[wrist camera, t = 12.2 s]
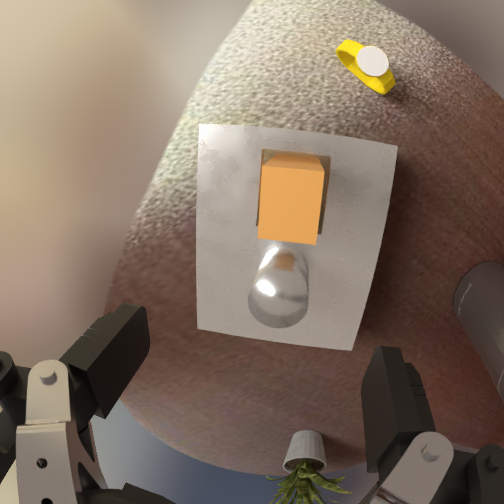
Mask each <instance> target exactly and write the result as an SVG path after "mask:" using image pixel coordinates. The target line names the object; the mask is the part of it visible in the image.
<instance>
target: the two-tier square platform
mask: <svg viewBox="0 0 504 504" xmlns="http://www.w3.org/2000/svg"><path fill="white" fill-rule="evenodd" d="M397 149H398V146H395V145H390V144H385V143H380V142H374V141H369V140H363V139H358V138H352V137H345V136H339V135H332V134H325V133H317V132H309V131H301V130H291V129H281V128H270V127H257V126H242V125H220V124H199V144H198V171H197V214H196V279H197V323H198V329H203V330H208V331H214V332H219V333H225V334H230V335H236V336H242V337H248V338H255V339H261V340H268V341H274V342H282V343H289V344H296V345H304V346H313V347H321V348H330V349H340V350H351V351H352V348H353V345H354V341H355V338H356V335H357V332H358V329H359V325H360V322H361V319H362V315H363V312H364V309H365V305H366V302H367V298H368V294H369V291H370V287H371V283H372V279H373V275H374V271H375V267H376V263H377V259H378V255H379V250H380V246H381V242H382V237H383V232H384V227H385V223H386V217H387V212H388V207H389V202H390V196H391V190H392V184H393V178H394V171H395V164H396V157H397ZM276 154H284V155H295V156H305V157H314V158H319V160H320V163H321V165H322V167H323V170H324V181H323V190H322V199H321V208H320V216H319V224H318V232H317V240H316V245H312V244H303V243H294V242H286V241H277V240H268V239H259V238H258V224H259V208H260V192H261V176H262V165H264V164H265V163H266V162H267V161H268V160H270V159H271V158H272V157H273V156H275V155H276Z"/></svg>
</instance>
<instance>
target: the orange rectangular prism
mask: <svg viewBox="0 0 504 504" xmlns="http://www.w3.org/2000/svg"><path fill="white" fill-rule="evenodd" d="M323 181H324V170H323V167H322V165H321V163H320V160H319V158H314V157H305V156H295V155H284V154H276V155H275V156H273V157H272V158H271V159H270V160H268V161H267V162H266V163H265V164H264V165H262V176H261V192H260V208H259V224H258V238H259V239H268V240H277V241H286V242H294V243H303V244H312V245H316V240H317V232H318V224H319V216H320V208H321V199H322V190H323Z"/></svg>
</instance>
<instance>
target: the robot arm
mask: <svg viewBox="0 0 504 504" xmlns="http://www.w3.org/2000/svg"><path fill="white" fill-rule="evenodd" d="M453 307H454V312H455V315H456V317H457V318H458V320H459V321H460V323H461V325H462V326H463V328H464V330H465V331H466V333H467V335H468V337H469V338H470V340H471V342H472V343H473V345H474V347H475V349H476V350H477V352H478V354H479V356H480V357H481V359H482V361H483V363H484V365H485V367H486V369H487V370H488V372H489V374H490V376H491V378H492V380H493V382H494V384H495V386H496V388H497V390H498V392H499V394H500V396H501V398H502V400H503V402H504V266H503V265H501V264H500V263H498V262H494V261H488V262H484V263H481V264H479V265H477V266H475V267H474V268H472V269H471V270H470V271H469V272H468V273H467V274H466V275H465V276H464V277H463V279H462V280H461V282H460V283H459V285H458V288H457V290H456V292H455V296H454V302H453ZM149 348H150V336H149V329H148V321H147V313H146V309H145V308H144V307H142V306H138V305H134V304H130V303H126V302H125V303H123V304H122V305H121V306H120V307H119V308H118V309H117V310H116V311H115V312H114V313H108V314H106V315H104V316H102V317H101V318H99V319H97V320H96V321H95V322H94V323H93V324H92V325H91V327H90V329H88V330H87V331H86V332H85V333H84V334H83V336H81V337H80V338H79V339H78V340H77V341H76V342H75V343H74V344H73V345H72V346H71V347H70V348H69V350H68V351H67V352H66V353H65V354H64V355H63V356H62V357H61V358H60V359H59V360H58V361H57V360H45V361H42V362H40V363H38V364H36V365H35V366H34V367H33V368H26V367H20V366H15V364H14V362H13V359H12V357H11V356H10V355H9V354H8V353H6V352H2V351H1V352H0V406H1V407H2V409H3V410H2V412H1V413H0V484H1V482H2V480H3V479H4V477H5V475H6V474H7V472H8V470H9V468H10V467H11V465H12V464H13V462H14V461H15V459H16V466H17V482H18V494H19V504H175V503H174V502H172V501H170V500H168V499H166V498H165V497H163V496H161V495H158V494H155V493H152V492H149V491H147V490H144V489H141V488H139V487H136V486H133V485H131V484H128V483H125V485H124V488H123V489H122V490H120V489H108V486H107V484H106V481H105V479H104V477H103V474H102V472H101V469H100V466H99V462H98V457H97V452H96V447H95V442H94V438H93V431H92V425H91V422H90V419H91V418H92V416H93V415H96V416H99V417H101V418H103V419H106V417H107V416H108V414H109V413H110V411H111V410H112V408H113V406H114V405H115V403H116V402H117V400H118V399H119V397H120V396H121V394H122V393H123V391H124V390H125V388H126V387H127V385H128V384H129V382H130V381H131V379H132V378H133V376H134V375H135V373H136V372H137V370H138V369H139V367H140V366H141V364H142V363H143V361H144V360H145V358H146V356H147V355H148V352H149ZM361 399H362V408H363V419H364V431H365V444H366V459H367V472H368V473H373V472H374V473H376V472H379V481H378V482H377V483H376V484H375V485H374V486H373V488H372V489H371V490H370V492H369V493H368V494H367V495H366V496H365V497H364V498H363V500H362V501H361V502H360V503H359V504H504V449H502V448H501V447H499V446H497V445H493V444H489V445H486V446H484V447H482V448H481V449H480V450H479V451H478V452H477V453H476V454H473V453H468V452H462V451H458V450H454V449H453V447H452V445H451V443H450V441H449V440H448V439H447V438H446V437H445V436H443V435H441V434H439V433H437V432H436V428H435V425H434V421H433V417H432V414H431V410H430V407H429V403H428V400H427V397H426V393H425V390H424V388H423V383H422V380H421V377H420V374H419V373H418V371H417V370H416V369H415V368H414V366H413V365H412V364H411V363H404V359H403V356H402V353H401V350H400V348H399V347H388V346H377V347H376V349H375V351H374V354H373V356H372V359H371V361H370V364H369V366H368V369H367V371H366V373H365V376H364V378H363V382H362V387H361Z"/></svg>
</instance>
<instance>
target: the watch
mask: <svg viewBox="0 0 504 504" xmlns="http://www.w3.org/2000/svg"><path fill="white" fill-rule="evenodd" d="M335 51H336V54H337V56H338V58H339V60H340V61H341V62H342V63H343V64H344V66H345V67H347V68H348V69H349V70H350V71H351V72H352V73H354V74H355V75H356V76H357V77H358V78H359V79H360V80H361V81H362V82H364V83H365V85H366V86H368V87H369V88H371V89H372V90H374V91H376V92H378V93H380V94H384V95H385V94H386V93H387V92H388V91H389V90H390V89H391V88H392V87H393V86H394V85H395V79H394V76H393V74H392V72H391V71H390V70H389V68H388V66H389V61H388V58H387V56H386V54H385V53H384V52H383V51H382V50H381V49H380V48H378V47H375V46H363V45H361V44H360V43H358V42H355V41H352V40H345V41H344V42H343V43H342V44H341V45H340V46H339V47H338V48H337V49H336V50H335Z"/></svg>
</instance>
